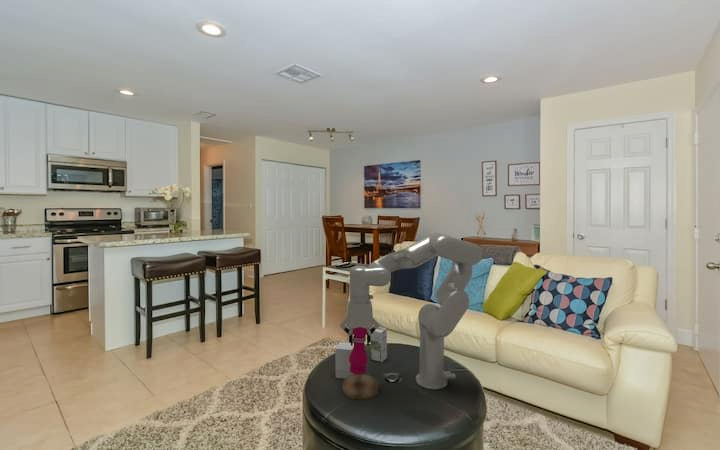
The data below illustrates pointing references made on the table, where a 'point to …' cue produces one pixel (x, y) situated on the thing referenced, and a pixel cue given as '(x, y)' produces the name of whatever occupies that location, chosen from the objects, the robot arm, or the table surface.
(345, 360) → the supplement box
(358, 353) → the pepper mill
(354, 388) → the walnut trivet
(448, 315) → the robot arm
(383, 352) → the syrup box
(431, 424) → the table surface
